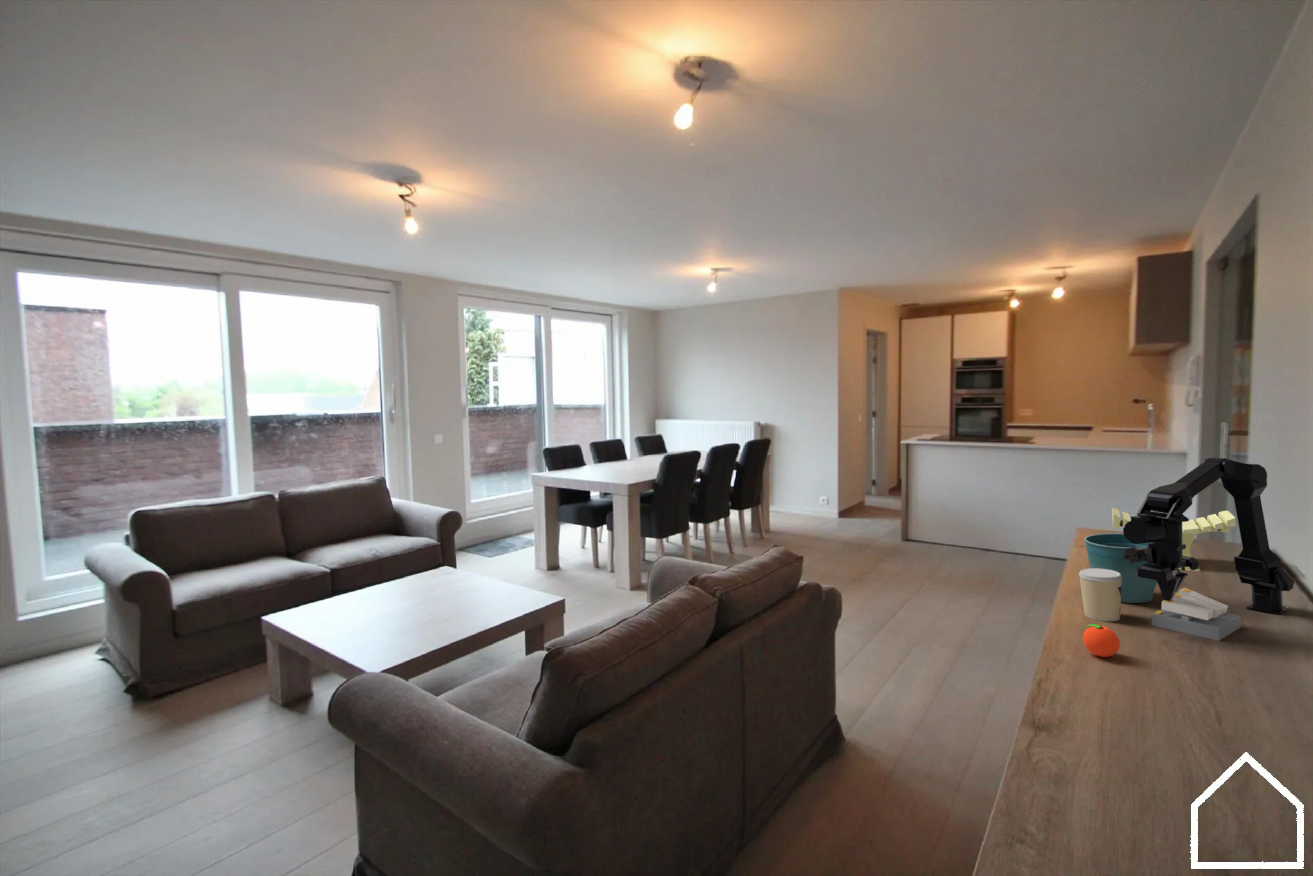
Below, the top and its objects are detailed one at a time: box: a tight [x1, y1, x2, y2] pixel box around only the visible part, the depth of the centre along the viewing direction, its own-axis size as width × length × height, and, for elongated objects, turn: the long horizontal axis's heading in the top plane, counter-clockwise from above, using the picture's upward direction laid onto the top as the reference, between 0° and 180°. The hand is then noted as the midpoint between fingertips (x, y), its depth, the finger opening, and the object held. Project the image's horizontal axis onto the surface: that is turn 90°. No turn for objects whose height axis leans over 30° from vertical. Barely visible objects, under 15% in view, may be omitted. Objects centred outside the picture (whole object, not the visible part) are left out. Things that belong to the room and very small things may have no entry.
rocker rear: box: [1178, 587, 1229, 615], centre depth 150 cm, size 3×9×2 cm, turn 29°
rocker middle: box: [1172, 592, 1221, 618], centre depth 148 cm, size 3×9×2 cm, turn 29°
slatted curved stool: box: [1111, 507, 1237, 572], centre depth 199 cm, size 30×16×18 cm, turn 54°
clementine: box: [1080, 623, 1121, 658], centre depth 137 cm, size 8×7×7 cm
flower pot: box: [1083, 533, 1158, 604], centre depth 171 cm, size 18×18×17 cm
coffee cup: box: [1078, 567, 1122, 622], centre depth 159 cm, size 9×9×12 cm
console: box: [1150, 609, 1241, 642], centre depth 148 cm, size 13×13×4 cm
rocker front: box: [1160, 599, 1213, 620], centre depth 146 cm, size 3×9×2 cm, turn 29°
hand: (1167, 600), depth 149 cm, fingers closed, pressing on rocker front
